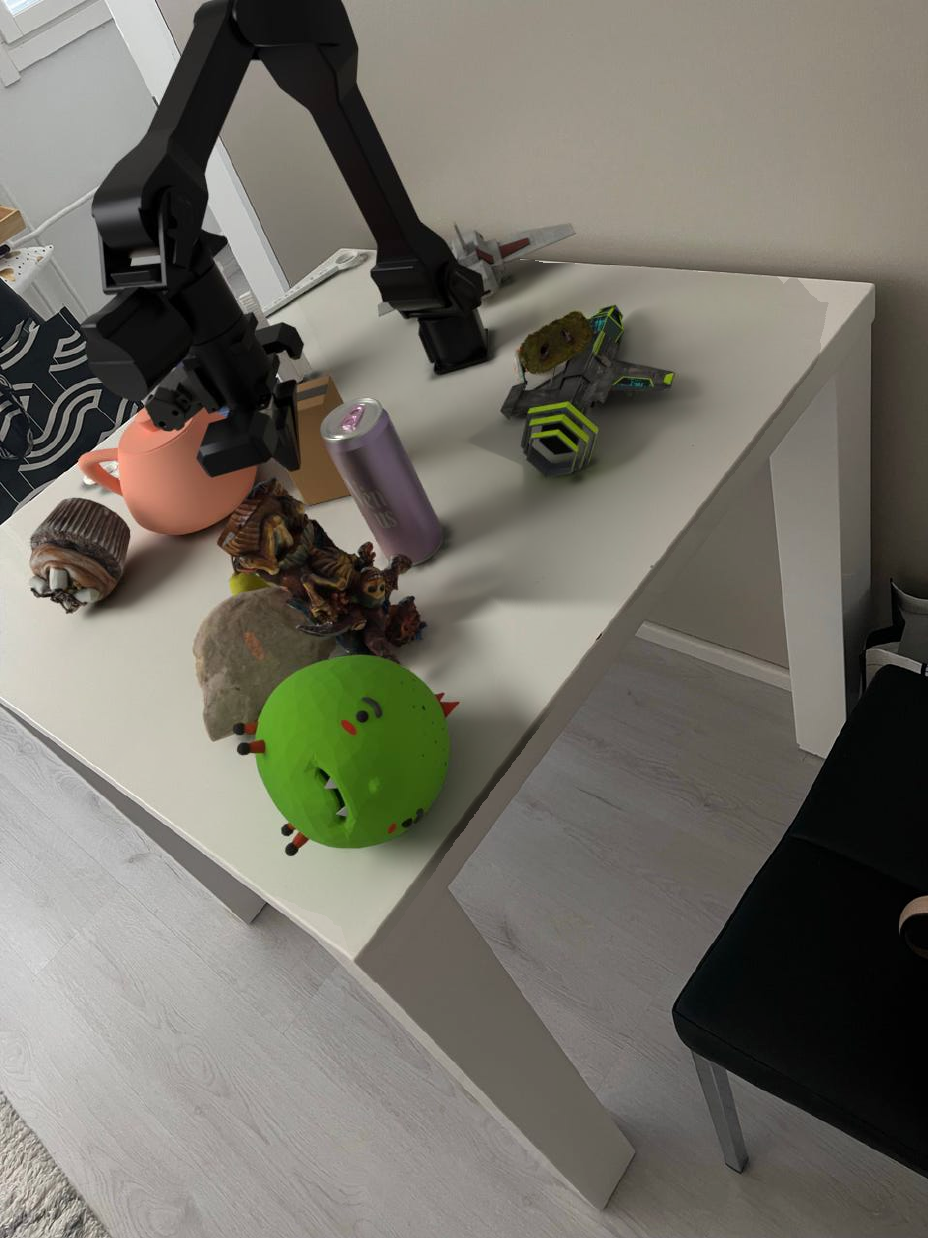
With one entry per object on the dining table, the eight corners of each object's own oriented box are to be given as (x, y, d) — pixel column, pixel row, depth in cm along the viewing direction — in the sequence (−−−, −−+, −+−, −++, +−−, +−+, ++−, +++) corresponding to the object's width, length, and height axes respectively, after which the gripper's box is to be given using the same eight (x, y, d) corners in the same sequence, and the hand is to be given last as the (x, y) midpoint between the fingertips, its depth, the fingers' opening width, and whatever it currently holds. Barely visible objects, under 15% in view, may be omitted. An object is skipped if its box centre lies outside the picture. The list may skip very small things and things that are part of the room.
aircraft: (701, 314, 102) (687, 257, 98) (653, 473, 83) (634, 410, 80) (551, 345, 110) (533, 294, 106) (478, 495, 92) (453, 440, 88)
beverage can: (454, 523, 90) (393, 392, 80) (433, 569, 86) (367, 438, 76) (399, 525, 93) (334, 399, 82) (377, 570, 89) (306, 443, 79)
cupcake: (152, 526, 100) (116, 604, 95) (120, 561, 107) (84, 635, 102) (65, 478, 96) (22, 557, 91) (37, 517, 103) (-4, 593, 98)
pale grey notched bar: (185, 246, 109) (183, 250, 108) (218, 225, 108) (217, 229, 107) (285, 388, 121) (285, 393, 119) (316, 369, 120) (316, 375, 118)
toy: (221, 749, 56) (453, 650, 58) (216, 640, 78) (386, 570, 80) (304, 922, 61) (518, 823, 63) (278, 772, 82) (438, 703, 84)
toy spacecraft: (565, 214, 125) (541, 139, 118) (587, 267, 114) (562, 188, 107) (385, 291, 130) (352, 223, 123) (390, 349, 119) (355, 278, 112)
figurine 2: (609, 341, 92) (562, 367, 104) (577, 295, 91) (533, 327, 103) (545, 393, 91) (504, 414, 102) (511, 347, 90) (474, 373, 101)
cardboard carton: (373, 460, 102) (329, 373, 94) (369, 490, 98) (322, 402, 91) (314, 476, 104) (266, 392, 96) (307, 506, 100) (257, 421, 93)
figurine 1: (311, 449, 69) (477, 601, 77) (284, 446, 78) (437, 584, 85) (214, 563, 68) (393, 706, 76) (197, 547, 76) (360, 678, 84)
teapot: (304, 427, 111) (253, 337, 103) (300, 505, 100) (243, 411, 92) (137, 489, 115) (75, 406, 106) (116, 571, 104) (45, 485, 96)
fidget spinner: (122, 487, 117) (119, 482, 116) (77, 498, 118) (73, 493, 118) (139, 453, 122) (135, 448, 121) (95, 463, 123) (92, 458, 123)
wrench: (217, 346, 134) (207, 337, 137) (220, 350, 134) (210, 341, 138) (363, 253, 137) (350, 246, 141) (365, 257, 138) (352, 250, 141)
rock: (360, 641, 85) (300, 546, 82) (375, 647, 81) (312, 547, 78) (214, 743, 81) (144, 647, 78) (222, 755, 77) (149, 654, 74)
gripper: (156, 298, 88) (239, 432, 99) (97, 415, 75) (199, 554, 86) (264, 261, 85) (337, 403, 96) (220, 376, 72) (311, 525, 83)
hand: (295, 468), depth 90 cm, fingers closed
